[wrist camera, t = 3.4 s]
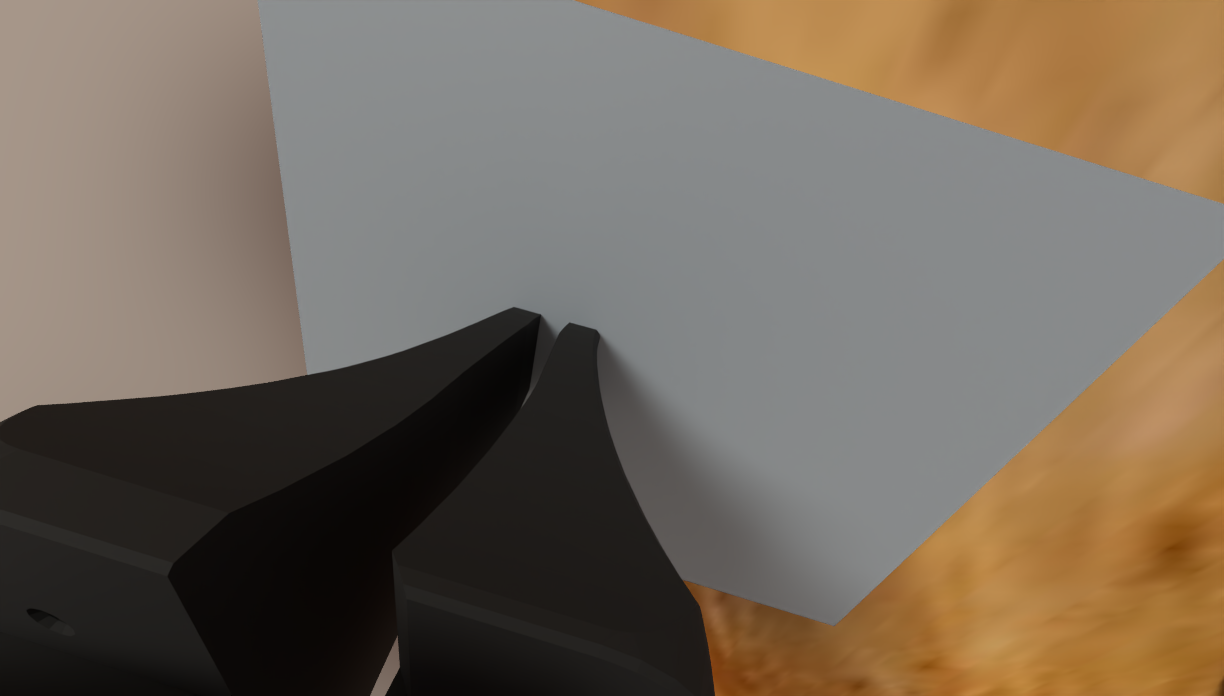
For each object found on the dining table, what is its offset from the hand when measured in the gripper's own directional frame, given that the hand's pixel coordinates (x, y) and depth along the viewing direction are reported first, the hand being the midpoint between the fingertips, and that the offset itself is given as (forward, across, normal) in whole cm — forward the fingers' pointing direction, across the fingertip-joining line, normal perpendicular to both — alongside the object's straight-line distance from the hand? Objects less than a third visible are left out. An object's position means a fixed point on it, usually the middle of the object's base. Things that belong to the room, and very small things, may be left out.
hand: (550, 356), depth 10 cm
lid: (+1, -2, 0) cm, 2 cm away
